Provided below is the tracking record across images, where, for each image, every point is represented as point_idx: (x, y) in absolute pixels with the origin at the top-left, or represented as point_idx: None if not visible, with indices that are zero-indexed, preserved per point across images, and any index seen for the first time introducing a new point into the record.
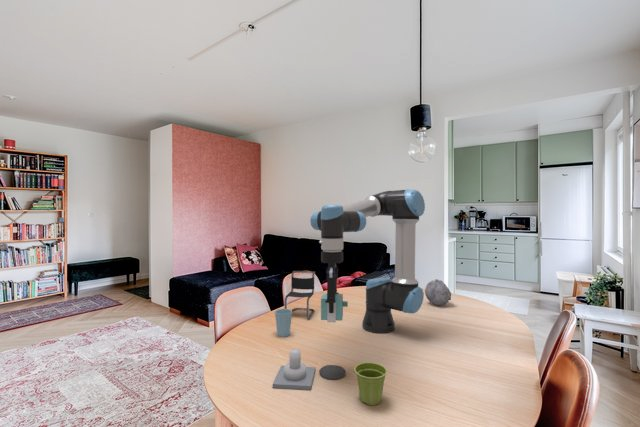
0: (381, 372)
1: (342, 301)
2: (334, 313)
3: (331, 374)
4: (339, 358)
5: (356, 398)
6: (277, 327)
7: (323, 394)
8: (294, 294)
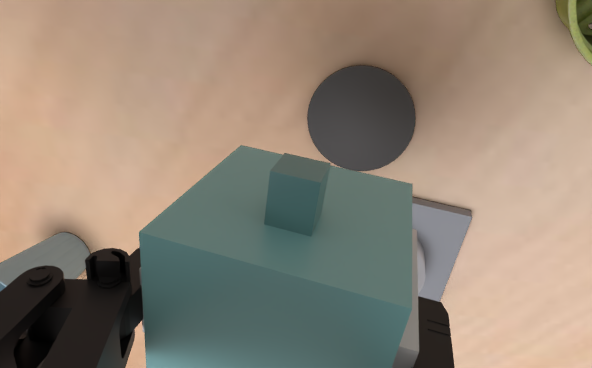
0: None
1: (307, 241)
2: (414, 280)
3: (385, 129)
4: (240, 73)
5: (578, 52)
6: None
7: (510, 173)
8: None
